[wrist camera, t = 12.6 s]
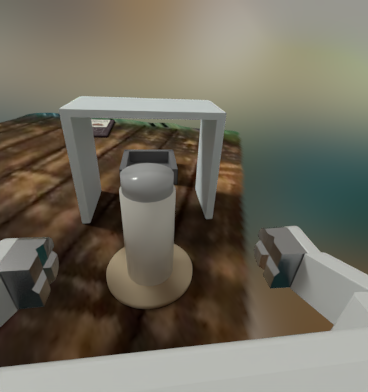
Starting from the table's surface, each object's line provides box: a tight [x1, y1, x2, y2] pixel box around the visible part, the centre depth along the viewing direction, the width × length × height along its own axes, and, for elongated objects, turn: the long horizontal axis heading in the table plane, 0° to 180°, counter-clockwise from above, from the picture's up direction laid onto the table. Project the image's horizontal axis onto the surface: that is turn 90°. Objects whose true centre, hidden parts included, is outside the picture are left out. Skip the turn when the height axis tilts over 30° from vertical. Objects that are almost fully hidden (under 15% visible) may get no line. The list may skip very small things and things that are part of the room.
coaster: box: [106, 244, 192, 309], centre depth 25 cm, size 9×9×1 cm
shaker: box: [119, 163, 176, 286], centre depth 22 cm, size 5×5×11 cm
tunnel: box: [59, 96, 226, 224], centre depth 33 cm, size 9×18×15 cm, turn 97°
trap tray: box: [119, 150, 178, 184], centre depth 46 cm, size 10×10×3 cm
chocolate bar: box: [91, 120, 115, 137], centre depth 72 cm, size 9×1×18 cm
